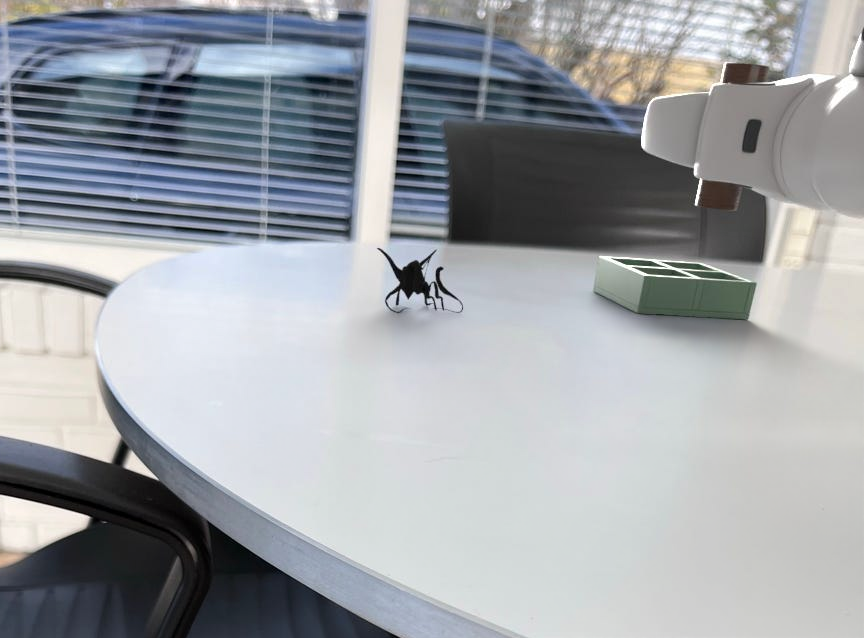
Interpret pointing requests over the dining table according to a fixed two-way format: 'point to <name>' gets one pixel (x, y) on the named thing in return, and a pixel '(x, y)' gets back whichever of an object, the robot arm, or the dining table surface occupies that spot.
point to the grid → (674, 288)
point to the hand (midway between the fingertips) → (726, 131)
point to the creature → (416, 282)
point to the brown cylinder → (721, 193)
